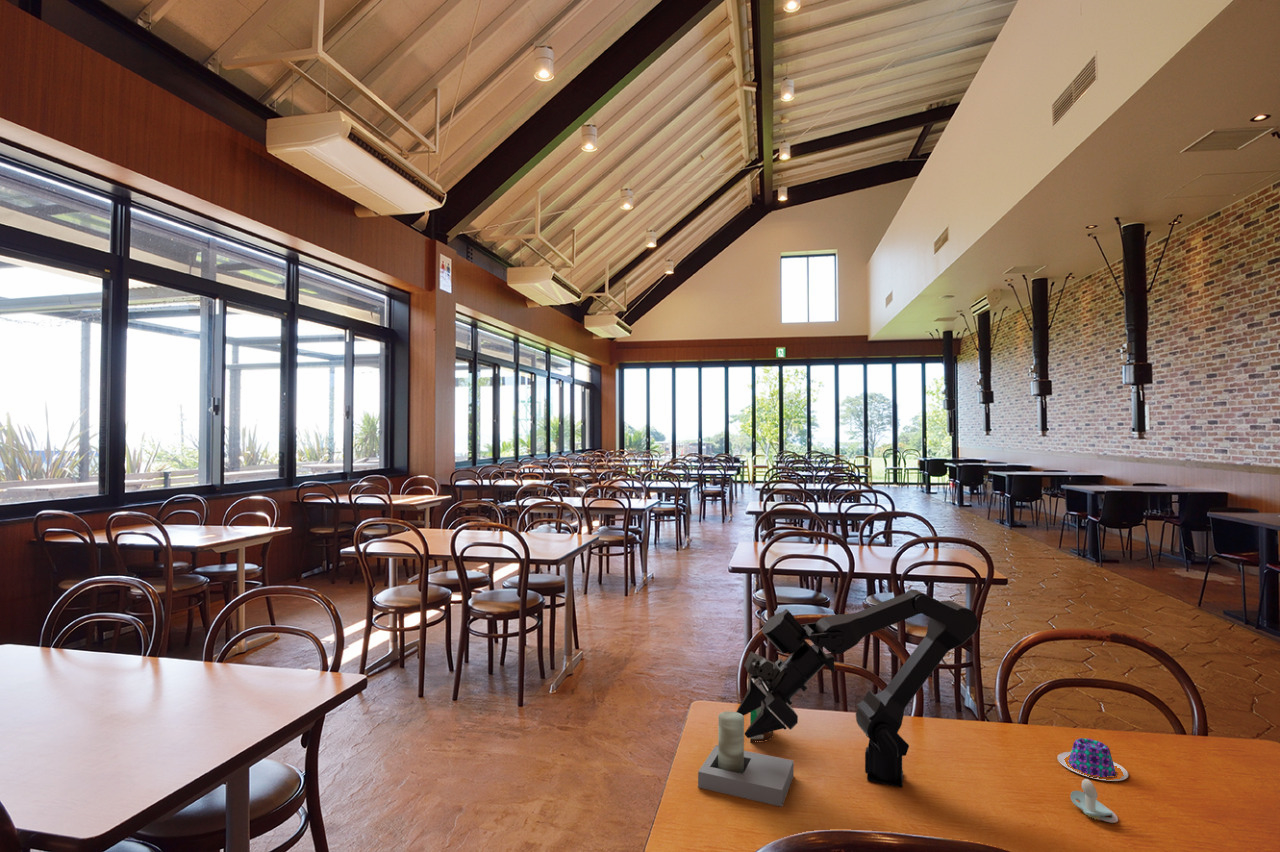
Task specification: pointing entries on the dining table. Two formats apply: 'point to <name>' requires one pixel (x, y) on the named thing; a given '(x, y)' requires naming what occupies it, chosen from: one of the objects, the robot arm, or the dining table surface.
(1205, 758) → the dining table surface
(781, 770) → the pocket board
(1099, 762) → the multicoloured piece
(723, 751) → the peg
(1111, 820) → the pacifier
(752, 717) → the food container
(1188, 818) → the dining table surface
